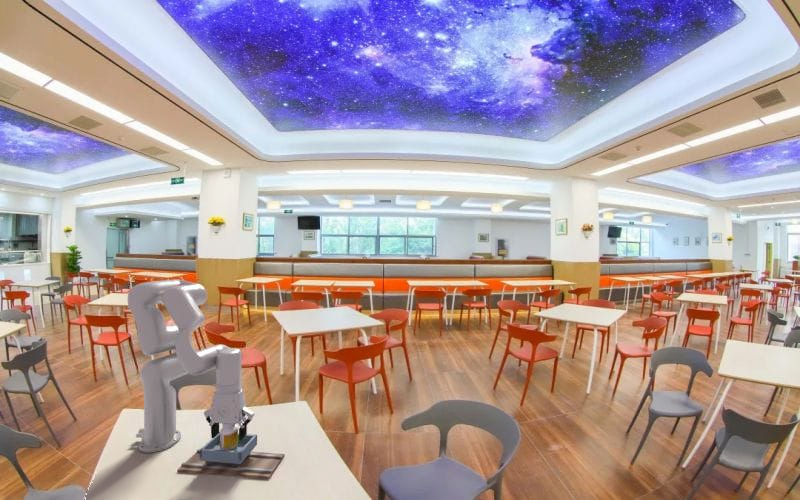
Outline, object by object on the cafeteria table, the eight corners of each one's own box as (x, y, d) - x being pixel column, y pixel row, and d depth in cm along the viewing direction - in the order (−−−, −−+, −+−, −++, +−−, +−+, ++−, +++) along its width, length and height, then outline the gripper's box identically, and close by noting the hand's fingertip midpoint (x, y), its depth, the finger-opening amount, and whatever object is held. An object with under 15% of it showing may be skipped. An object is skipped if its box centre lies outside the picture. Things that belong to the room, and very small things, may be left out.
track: (177, 471, 104) (177, 467, 104) (201, 450, 115) (201, 446, 115) (269, 479, 102) (269, 474, 102) (284, 456, 113) (284, 452, 113)
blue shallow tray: (199, 467, 104) (199, 450, 104) (219, 448, 114) (219, 432, 114) (240, 470, 103) (240, 453, 103) (257, 450, 113) (257, 434, 113)
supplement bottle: (241, 446, 110) (241, 418, 110) (228, 455, 105) (228, 426, 105) (229, 442, 112) (229, 415, 112) (216, 452, 107) (216, 423, 107)
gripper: (197, 390, 105) (196, 441, 106) (247, 393, 104) (247, 445, 104) (212, 380, 113) (212, 428, 113) (259, 383, 111) (259, 432, 111)
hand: (228, 436), depth 108 cm, fingers open, 9 cm apart
